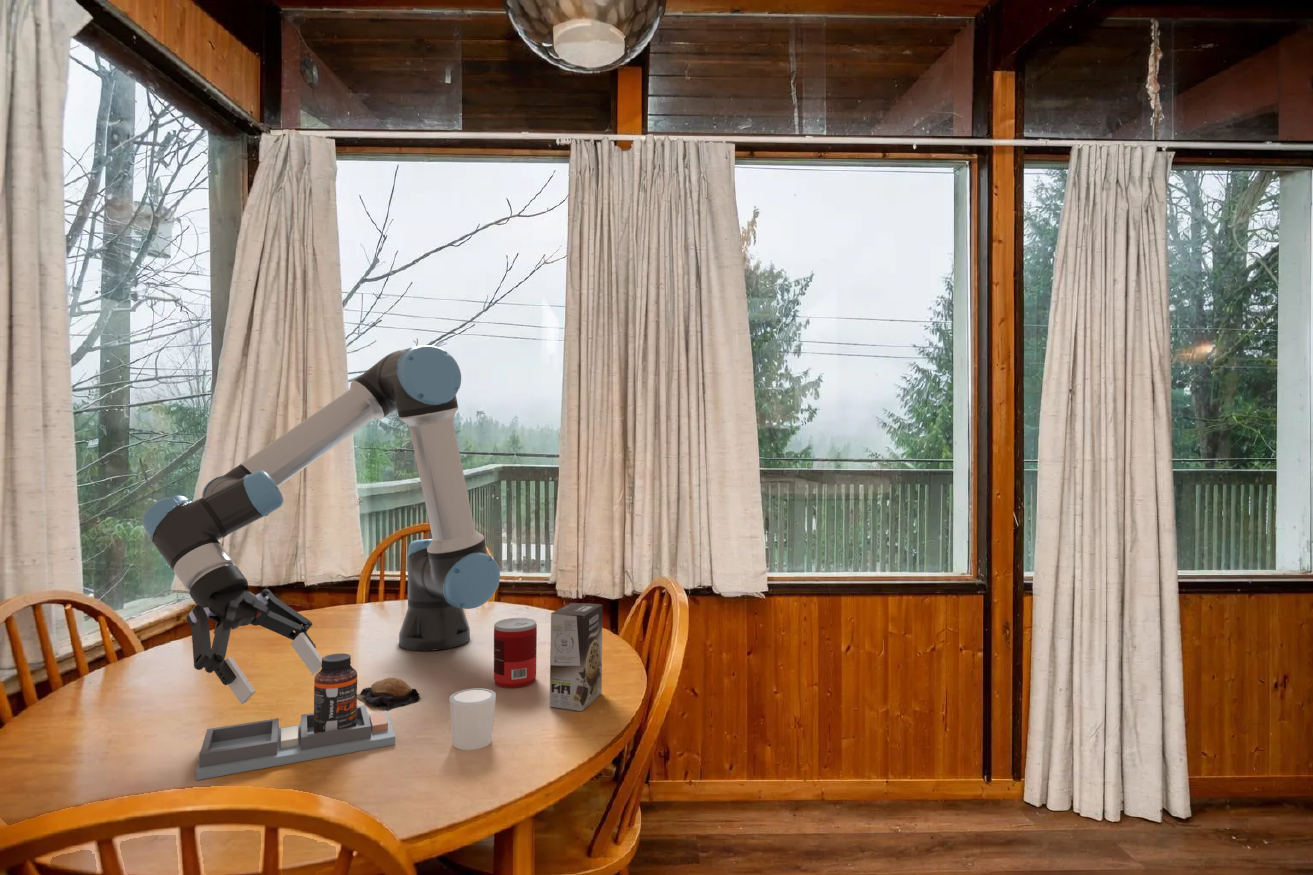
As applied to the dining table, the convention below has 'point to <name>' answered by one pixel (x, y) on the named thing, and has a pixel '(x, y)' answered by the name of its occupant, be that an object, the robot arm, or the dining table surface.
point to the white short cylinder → (472, 718)
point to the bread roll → (389, 694)
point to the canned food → (515, 652)
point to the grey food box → (576, 656)
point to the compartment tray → (287, 743)
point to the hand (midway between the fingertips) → (286, 682)
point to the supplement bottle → (335, 694)
